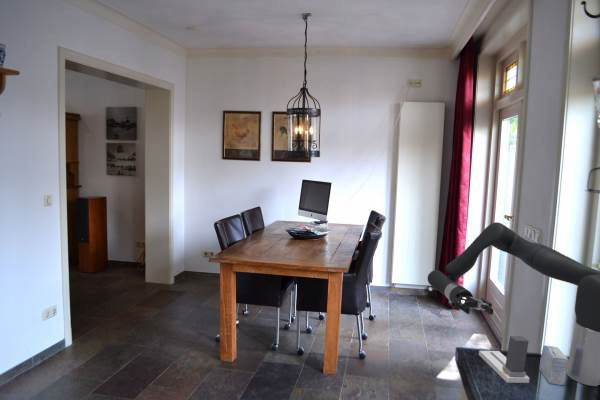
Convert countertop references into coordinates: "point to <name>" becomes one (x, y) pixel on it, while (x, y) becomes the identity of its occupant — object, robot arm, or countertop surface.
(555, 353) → the medicine box
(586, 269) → the robot arm
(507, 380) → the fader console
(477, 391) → the countertop surface
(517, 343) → the fader tab
